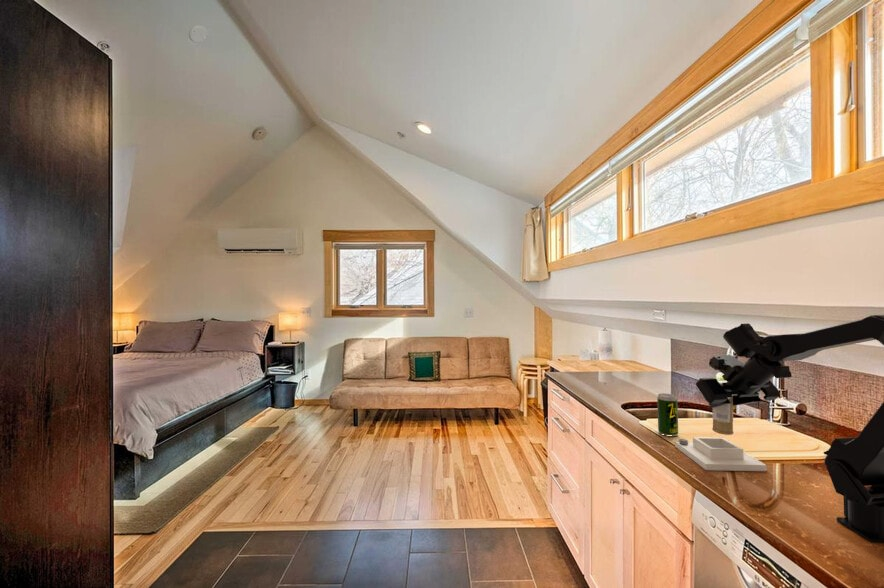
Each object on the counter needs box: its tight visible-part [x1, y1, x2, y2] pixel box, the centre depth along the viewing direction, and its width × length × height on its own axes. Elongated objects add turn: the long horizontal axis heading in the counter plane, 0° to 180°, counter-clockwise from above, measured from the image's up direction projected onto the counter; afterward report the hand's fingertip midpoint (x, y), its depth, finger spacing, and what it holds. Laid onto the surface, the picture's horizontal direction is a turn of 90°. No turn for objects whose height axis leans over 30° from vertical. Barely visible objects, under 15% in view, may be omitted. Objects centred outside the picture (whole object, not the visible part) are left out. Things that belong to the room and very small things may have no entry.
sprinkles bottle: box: [711, 380, 734, 436], centre depth 98 cm, size 5×5×14 cm
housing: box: [674, 436, 768, 472], centre depth 98 cm, size 14×14×4 cm
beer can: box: [656, 392, 679, 437], centre depth 115 cm, size 5×5×12 cm
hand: (718, 405), depth 99 cm, fingers closed on sprinkles bottle, 4 cm apart
